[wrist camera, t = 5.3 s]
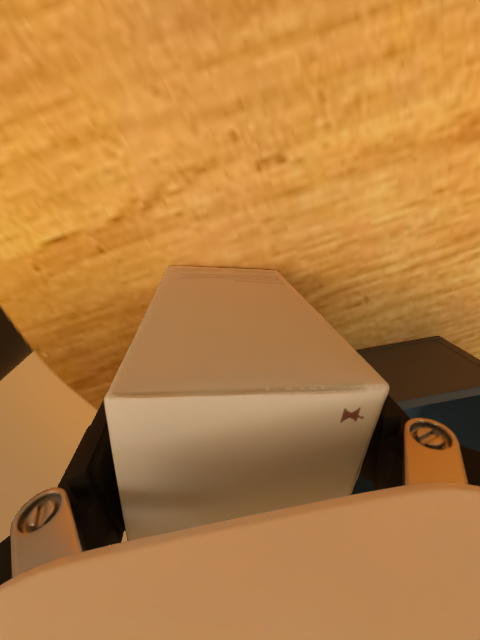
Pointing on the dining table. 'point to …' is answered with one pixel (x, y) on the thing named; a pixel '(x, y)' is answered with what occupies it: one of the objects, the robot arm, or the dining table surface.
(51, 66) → the dining table surface
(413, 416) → the dark grey storage bin
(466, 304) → the dining table surface
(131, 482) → the white packaging box
